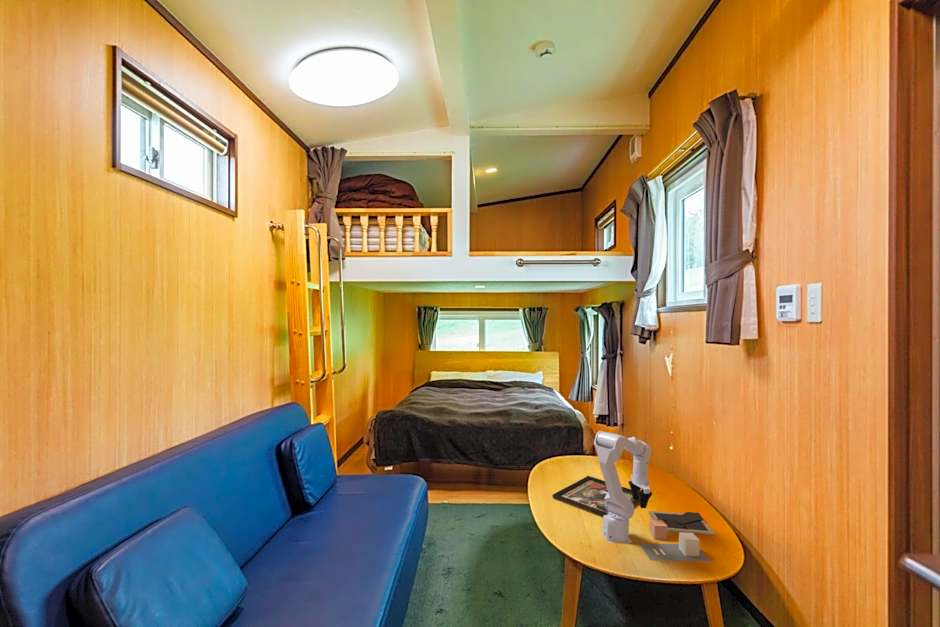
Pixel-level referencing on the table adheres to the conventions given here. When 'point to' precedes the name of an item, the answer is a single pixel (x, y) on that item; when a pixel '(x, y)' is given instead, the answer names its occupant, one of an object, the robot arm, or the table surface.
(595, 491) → the framed painting
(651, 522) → the terracotta block
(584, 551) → the table surface
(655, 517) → the picture frame
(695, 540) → the tan block
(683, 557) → the grey board
